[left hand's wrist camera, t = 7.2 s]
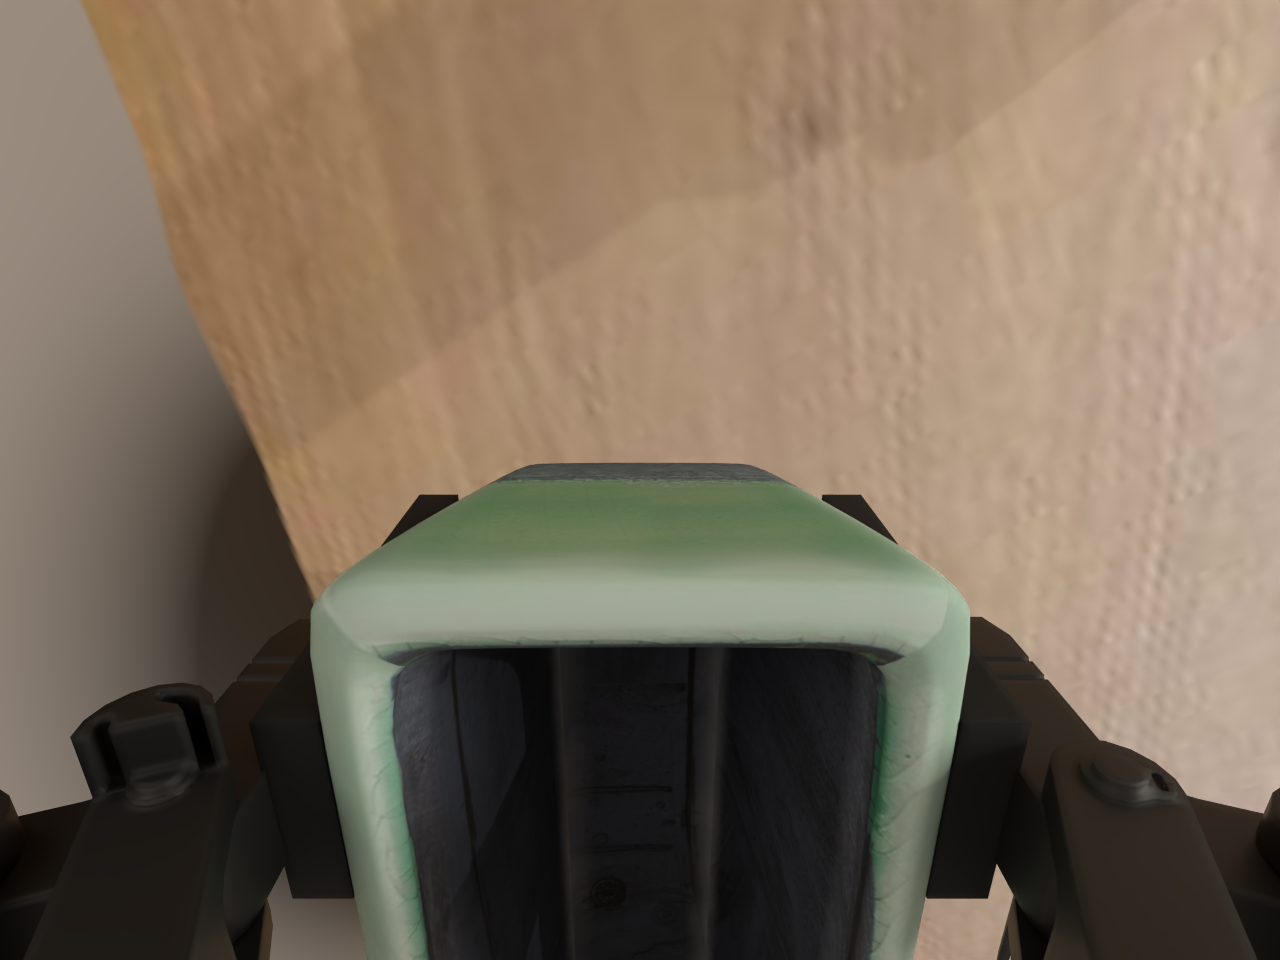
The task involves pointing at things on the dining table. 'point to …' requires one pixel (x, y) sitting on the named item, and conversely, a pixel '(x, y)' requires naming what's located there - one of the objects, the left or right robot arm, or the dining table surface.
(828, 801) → the planter
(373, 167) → the dining table surface
